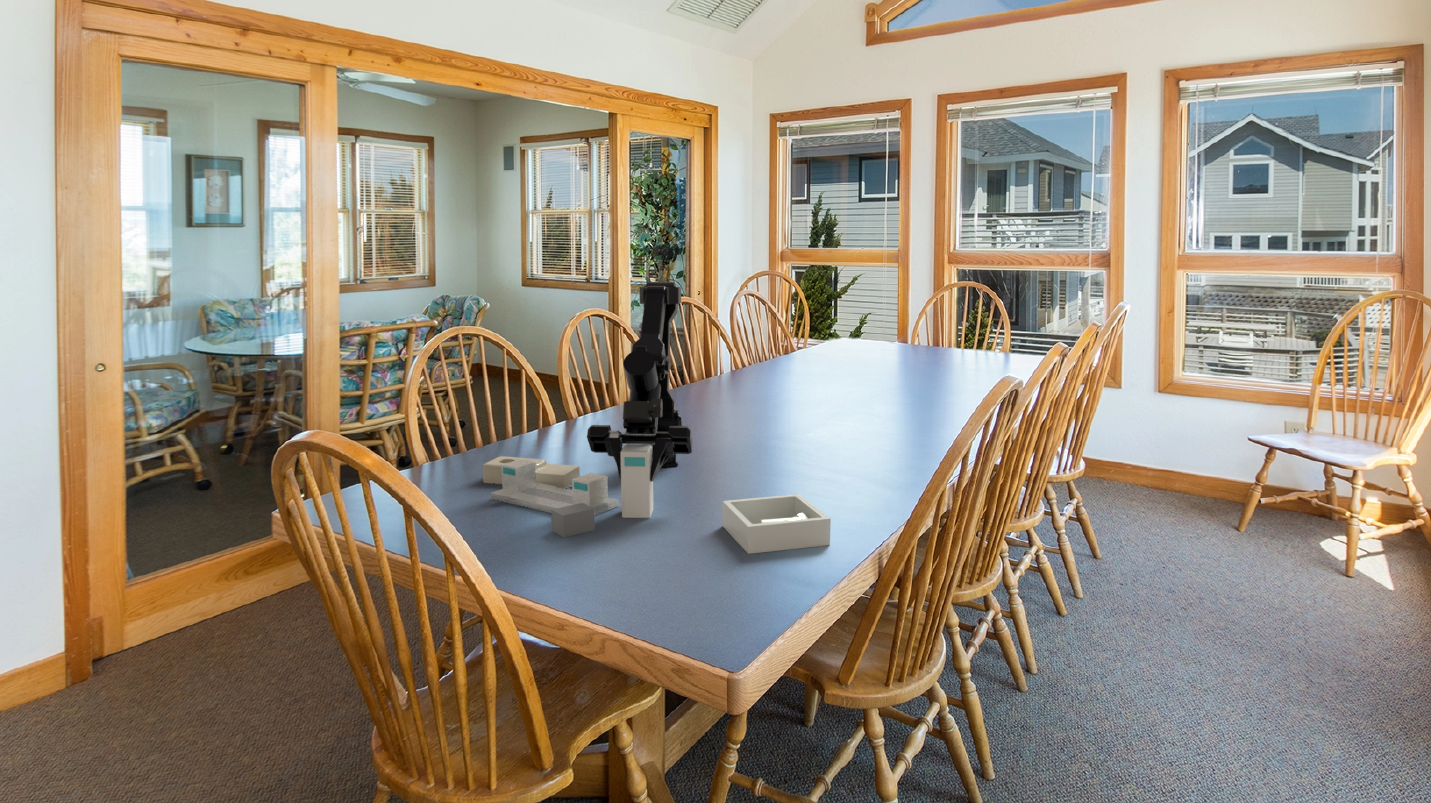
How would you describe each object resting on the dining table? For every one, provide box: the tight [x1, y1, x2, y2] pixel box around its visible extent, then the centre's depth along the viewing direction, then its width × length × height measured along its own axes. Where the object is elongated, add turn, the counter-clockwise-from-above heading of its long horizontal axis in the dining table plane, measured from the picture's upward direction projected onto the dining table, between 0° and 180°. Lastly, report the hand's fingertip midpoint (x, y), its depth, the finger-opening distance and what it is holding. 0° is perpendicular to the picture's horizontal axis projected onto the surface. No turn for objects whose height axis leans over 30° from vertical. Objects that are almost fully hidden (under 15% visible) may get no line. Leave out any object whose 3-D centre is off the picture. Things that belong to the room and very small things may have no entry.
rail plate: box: [490, 459, 620, 517], centre depth 170 cm, size 10×23×6 cm, turn 56°
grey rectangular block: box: [550, 503, 596, 538], centre depth 155 cm, size 6×4×4 cm, turn 127°
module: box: [620, 444, 654, 519], centre depth 163 cm, size 5×5×12 cm
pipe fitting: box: [760, 513, 809, 523], centre depth 152 cm, size 8×4×7 cm
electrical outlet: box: [482, 455, 581, 489], centre depth 185 cm, size 7×4×18 cm
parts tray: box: [722, 493, 832, 555], centre depth 153 cm, size 14×14×4 cm
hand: (636, 480), depth 162 cm, fingers closed on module, 5 cm apart
